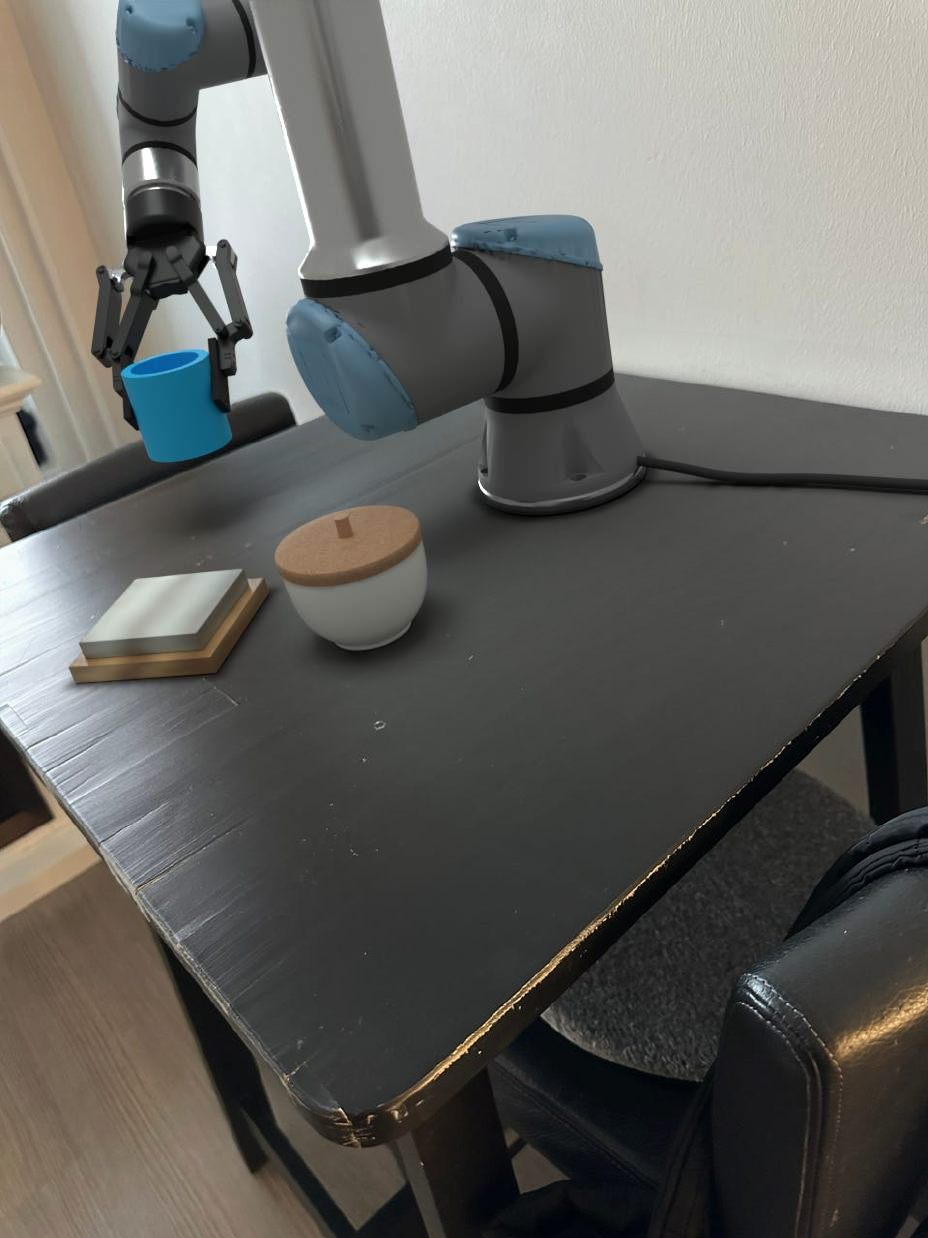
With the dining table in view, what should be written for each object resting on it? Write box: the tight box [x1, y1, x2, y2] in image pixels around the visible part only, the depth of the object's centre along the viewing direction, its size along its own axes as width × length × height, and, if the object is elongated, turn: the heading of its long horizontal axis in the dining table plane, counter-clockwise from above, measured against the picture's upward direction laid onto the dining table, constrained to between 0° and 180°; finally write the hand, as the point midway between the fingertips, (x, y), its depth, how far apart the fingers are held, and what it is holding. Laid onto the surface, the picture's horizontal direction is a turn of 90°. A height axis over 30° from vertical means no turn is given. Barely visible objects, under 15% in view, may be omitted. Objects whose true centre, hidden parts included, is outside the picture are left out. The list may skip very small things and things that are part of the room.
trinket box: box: [273, 504, 428, 651], centre depth 75 cm, size 11×11×9 cm
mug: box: [121, 348, 233, 463], centre depth 99 cm, size 12×8×8 cm
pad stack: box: [68, 568, 270, 684], centre depth 82 cm, size 12×12×3 cm
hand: (177, 414), depth 96 cm, fingers closed on mug, 8 cm apart
